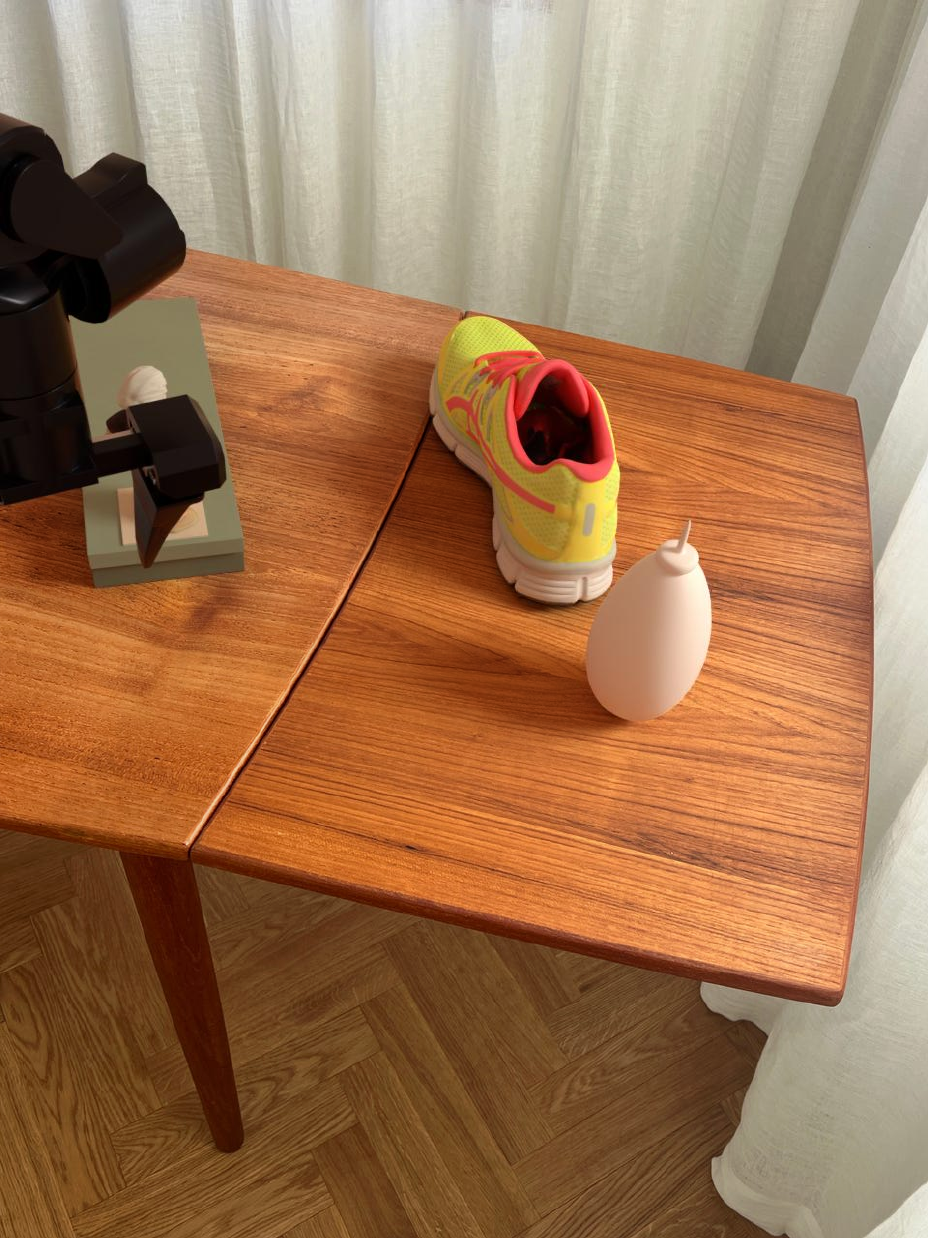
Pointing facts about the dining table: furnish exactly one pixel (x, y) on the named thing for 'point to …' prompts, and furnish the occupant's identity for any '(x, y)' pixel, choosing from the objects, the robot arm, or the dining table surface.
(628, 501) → the dining table surface
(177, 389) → the olive green stone
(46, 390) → the robot arm
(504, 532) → the running shoe
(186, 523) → the grandmother figurine
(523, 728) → the dining table surface
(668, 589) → the white bulb air blower
